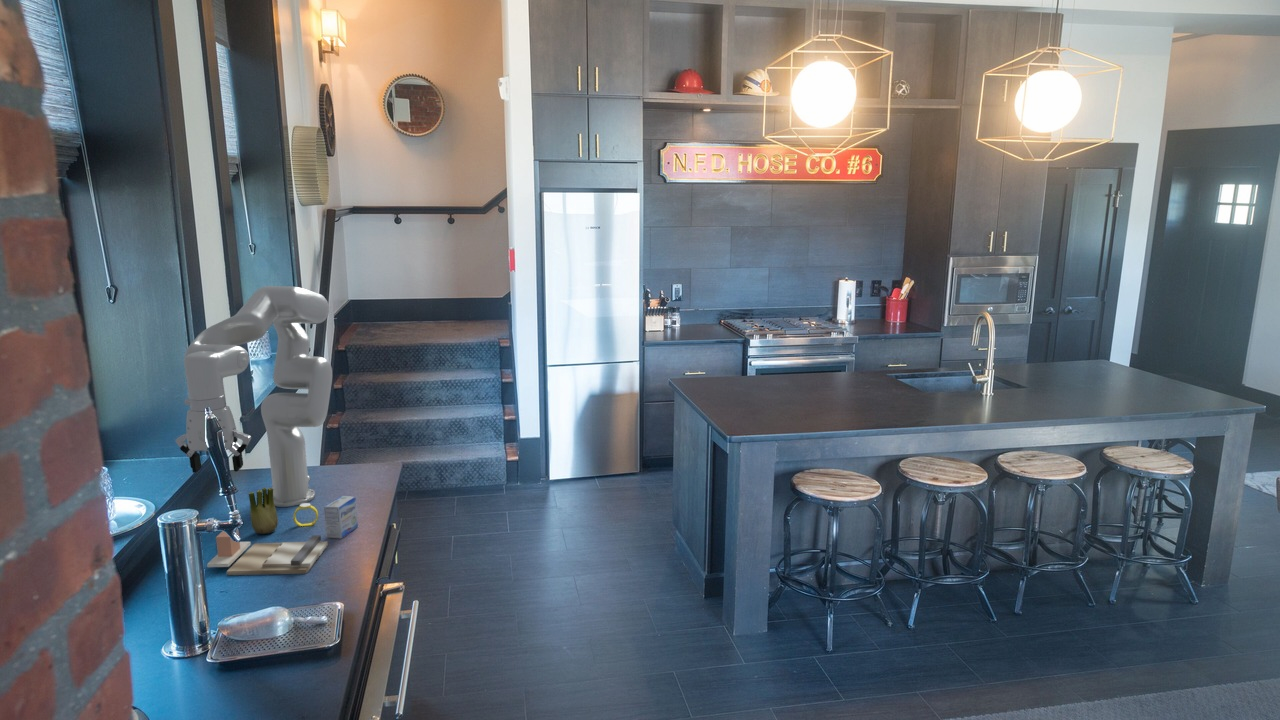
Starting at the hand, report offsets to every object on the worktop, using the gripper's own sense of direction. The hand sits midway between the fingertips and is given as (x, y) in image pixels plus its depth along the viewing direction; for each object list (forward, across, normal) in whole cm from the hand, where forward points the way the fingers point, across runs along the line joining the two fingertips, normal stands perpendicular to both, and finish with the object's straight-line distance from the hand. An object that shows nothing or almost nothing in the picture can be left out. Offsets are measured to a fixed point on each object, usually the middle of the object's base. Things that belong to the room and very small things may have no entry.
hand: (217, 469), depth 192 cm
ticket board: (+20, +16, -9) cm, 27 cm away
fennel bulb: (+21, +6, +8) cm, 23 cm away
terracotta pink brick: (+19, +4, -8) cm, 21 cm away
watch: (+21, +15, +12) cm, 29 cm away
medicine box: (+21, +26, +6) cm, 34 cm away
